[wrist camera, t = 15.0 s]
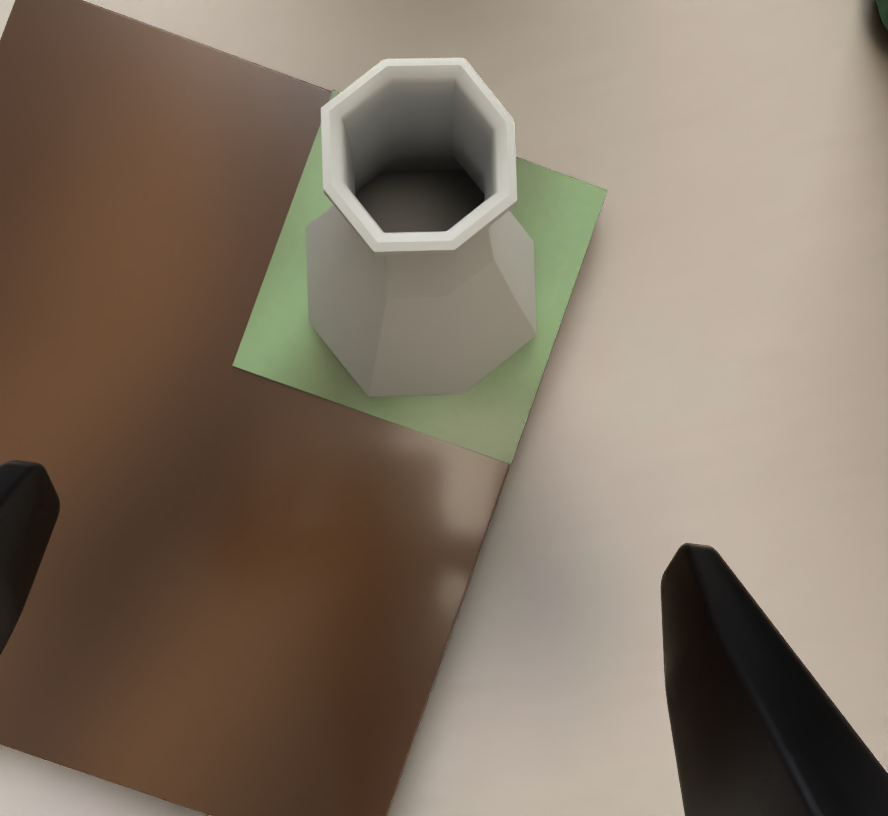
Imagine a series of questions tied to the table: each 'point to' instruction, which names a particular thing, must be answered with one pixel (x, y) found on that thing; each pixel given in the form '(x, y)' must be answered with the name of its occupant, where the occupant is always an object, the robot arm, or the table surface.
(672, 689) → the robot arm
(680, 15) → the table surface
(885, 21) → the coffee jar
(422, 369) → the flask
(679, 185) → the table surface
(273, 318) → the walnut board
